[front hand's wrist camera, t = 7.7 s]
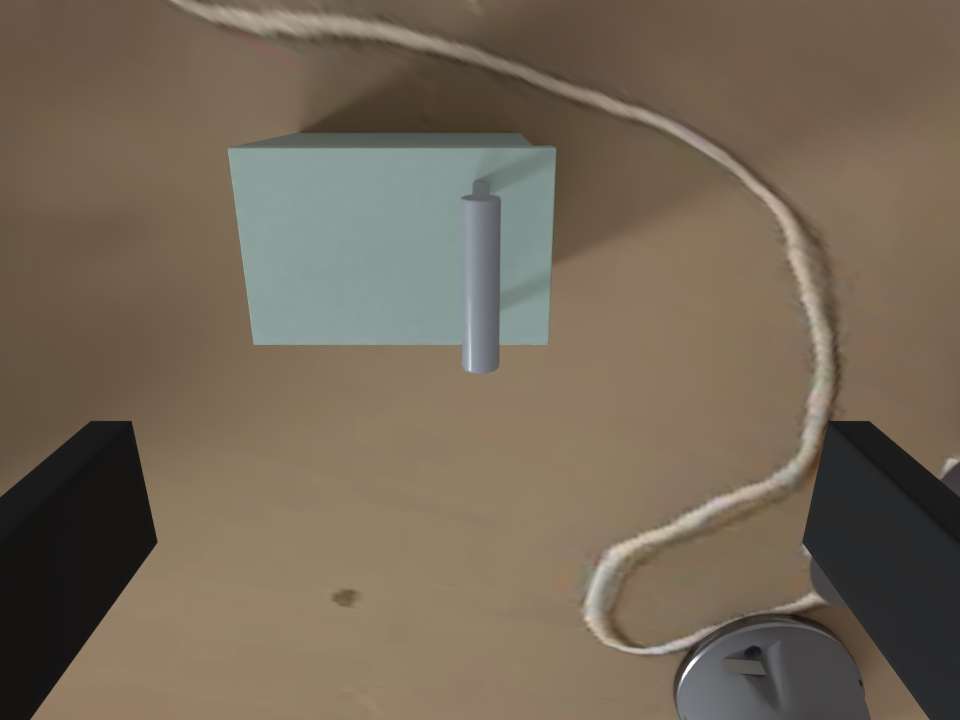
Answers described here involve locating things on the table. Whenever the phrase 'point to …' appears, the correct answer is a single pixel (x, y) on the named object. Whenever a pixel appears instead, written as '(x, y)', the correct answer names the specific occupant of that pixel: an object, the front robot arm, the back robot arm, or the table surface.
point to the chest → (396, 139)
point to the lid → (397, 245)
